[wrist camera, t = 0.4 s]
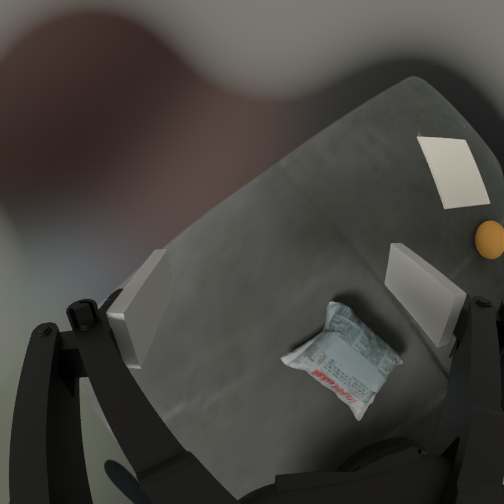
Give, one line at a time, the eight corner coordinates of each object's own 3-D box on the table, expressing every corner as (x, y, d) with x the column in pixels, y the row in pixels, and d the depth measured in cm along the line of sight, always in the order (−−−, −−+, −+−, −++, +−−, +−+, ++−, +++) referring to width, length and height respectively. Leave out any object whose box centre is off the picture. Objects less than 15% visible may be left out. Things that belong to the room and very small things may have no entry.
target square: (489, 203, 33) (490, 203, 33) (444, 209, 32) (444, 208, 32) (464, 140, 35) (465, 140, 35) (416, 137, 35) (417, 136, 35)
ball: (493, 258, 31) (516, 251, 25) (473, 265, 31) (497, 258, 25) (484, 224, 32) (506, 214, 27) (464, 228, 32) (487, 217, 27)
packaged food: (350, 413, 28) (365, 427, 23) (278, 356, 30) (282, 363, 25) (396, 357, 29) (416, 363, 24) (329, 297, 31) (342, 294, 26)
